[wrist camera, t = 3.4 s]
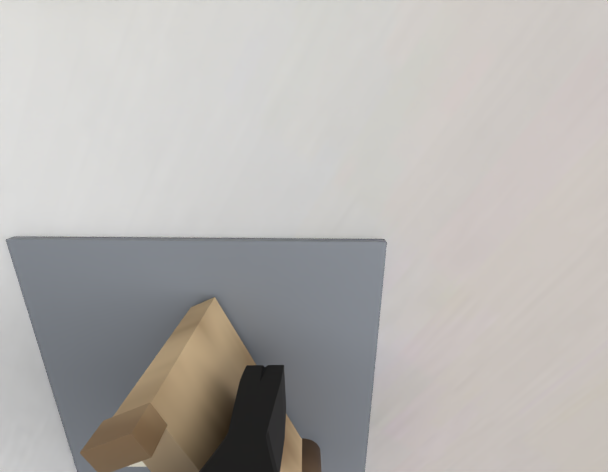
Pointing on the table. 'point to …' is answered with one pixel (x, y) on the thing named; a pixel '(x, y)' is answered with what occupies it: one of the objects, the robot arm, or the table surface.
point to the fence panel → (183, 402)
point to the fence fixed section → (310, 456)
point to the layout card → (237, 307)
